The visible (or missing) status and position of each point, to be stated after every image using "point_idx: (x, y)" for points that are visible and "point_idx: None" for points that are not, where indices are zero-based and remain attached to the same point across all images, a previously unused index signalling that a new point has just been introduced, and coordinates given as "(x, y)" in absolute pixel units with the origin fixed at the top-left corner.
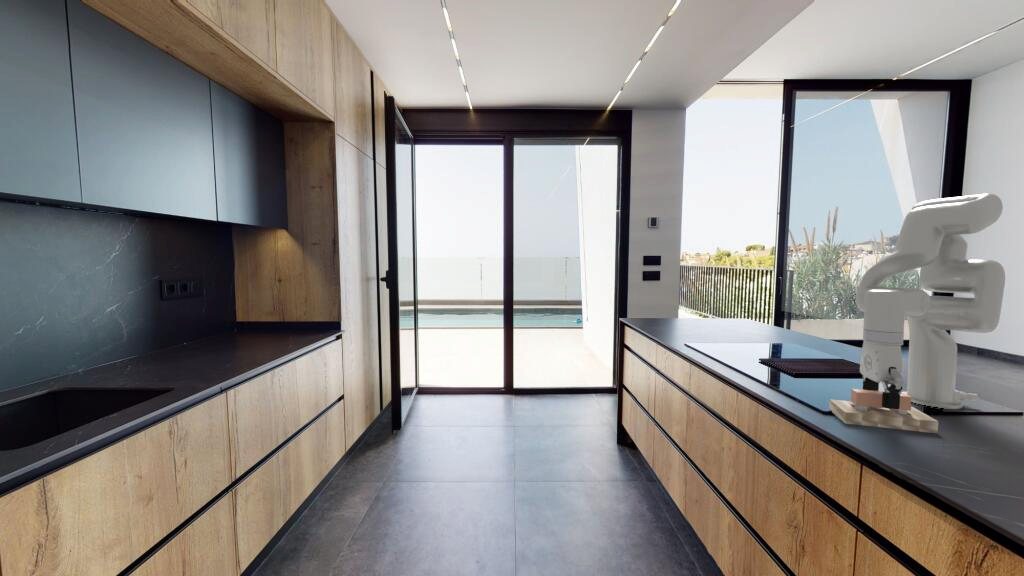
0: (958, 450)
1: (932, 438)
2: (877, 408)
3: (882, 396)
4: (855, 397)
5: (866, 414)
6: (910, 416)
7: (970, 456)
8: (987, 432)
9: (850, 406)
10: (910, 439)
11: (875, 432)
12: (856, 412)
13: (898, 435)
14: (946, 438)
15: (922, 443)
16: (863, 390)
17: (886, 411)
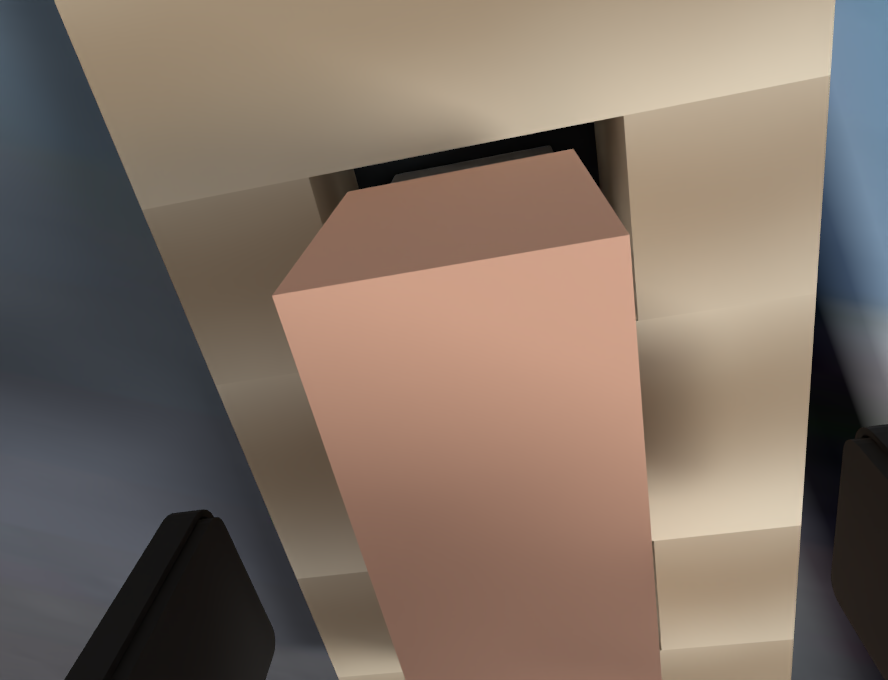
0: None
1: (264, 601)
2: None
3: (99, 665)
4: (368, 227)
5: (165, 261)
6: None
7: (39, 668)
8: None
9: (467, 113)
10: (117, 473)
11: (92, 257)
12: (153, 142)
13: (158, 420)
14: (328, 666)
15: (81, 519)
16: (577, 474)
17: None
